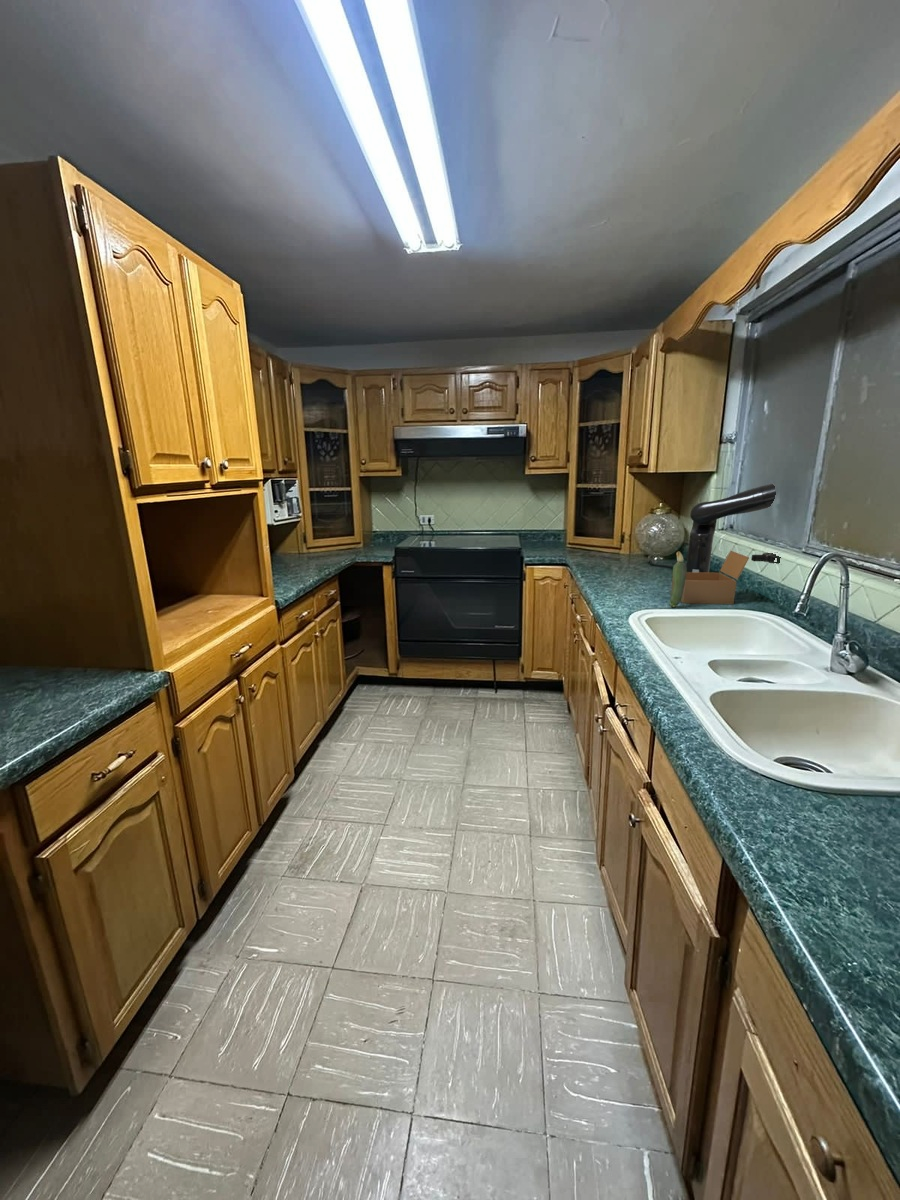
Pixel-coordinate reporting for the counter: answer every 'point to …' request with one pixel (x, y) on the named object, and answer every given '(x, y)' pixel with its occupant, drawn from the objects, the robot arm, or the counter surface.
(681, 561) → the vegetable
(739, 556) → the flap
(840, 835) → the counter surface
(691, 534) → the robot arm
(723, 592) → the carton
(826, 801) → the counter surface
